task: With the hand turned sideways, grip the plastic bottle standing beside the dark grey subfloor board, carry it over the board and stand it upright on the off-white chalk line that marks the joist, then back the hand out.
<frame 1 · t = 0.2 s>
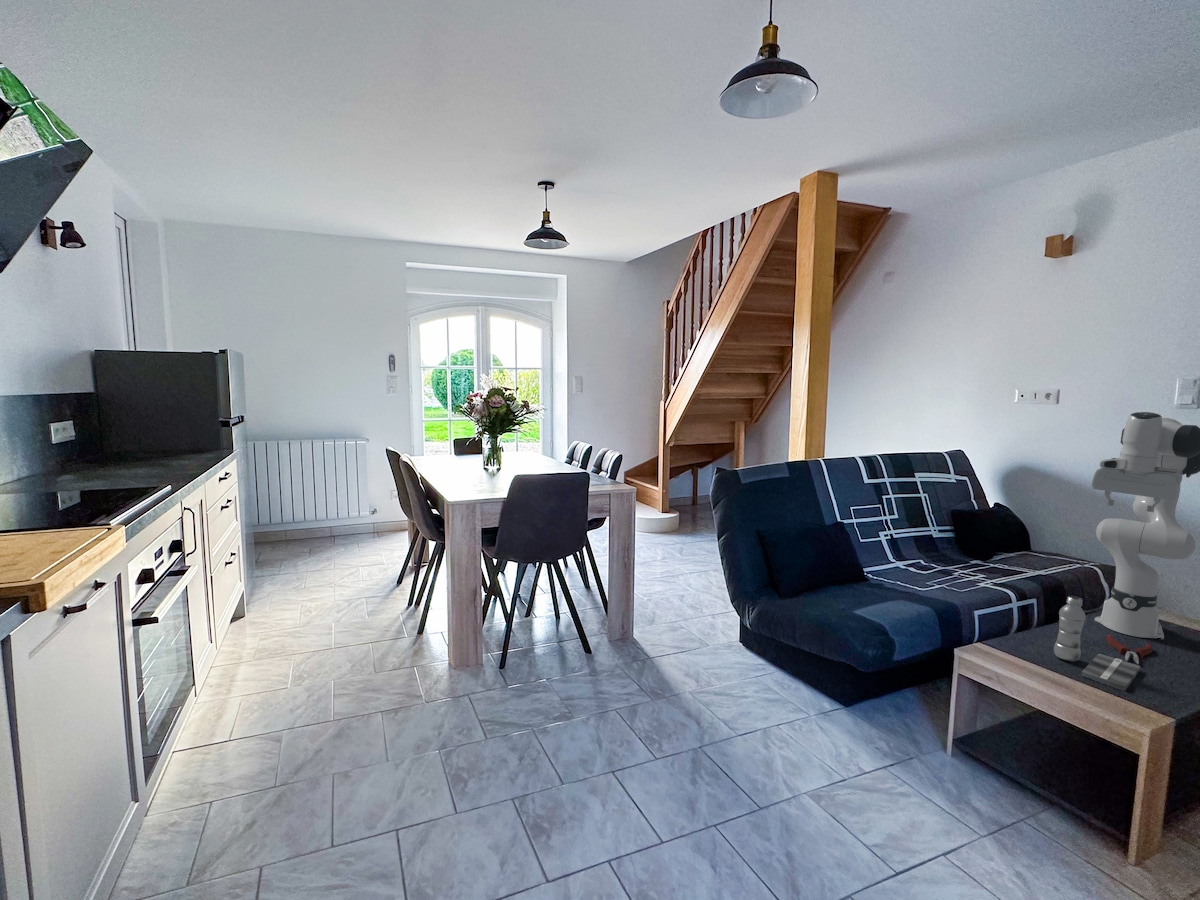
hand: (1130, 508, 188), 48 cm above the table, tool pointing down, fingers open, 8 cm apart
plastic bottle: (1065, 659, 188), on the table
subfloor board: (1110, 673, 180), on the table
pliers: (1123, 653, 196), on the table
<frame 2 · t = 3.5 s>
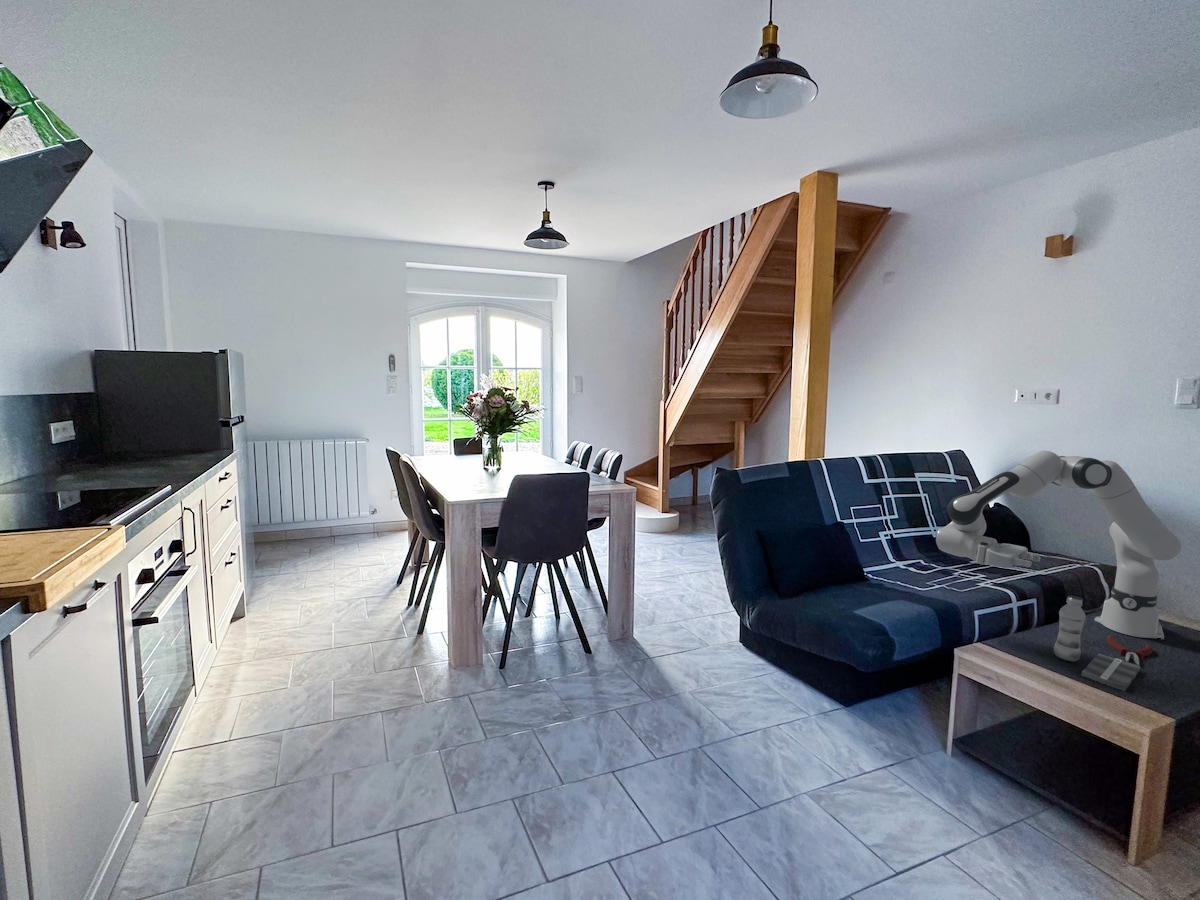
hand: (1035, 561, 194), 28 cm above the table, tool horizontal, fingers open, 8 cm apart
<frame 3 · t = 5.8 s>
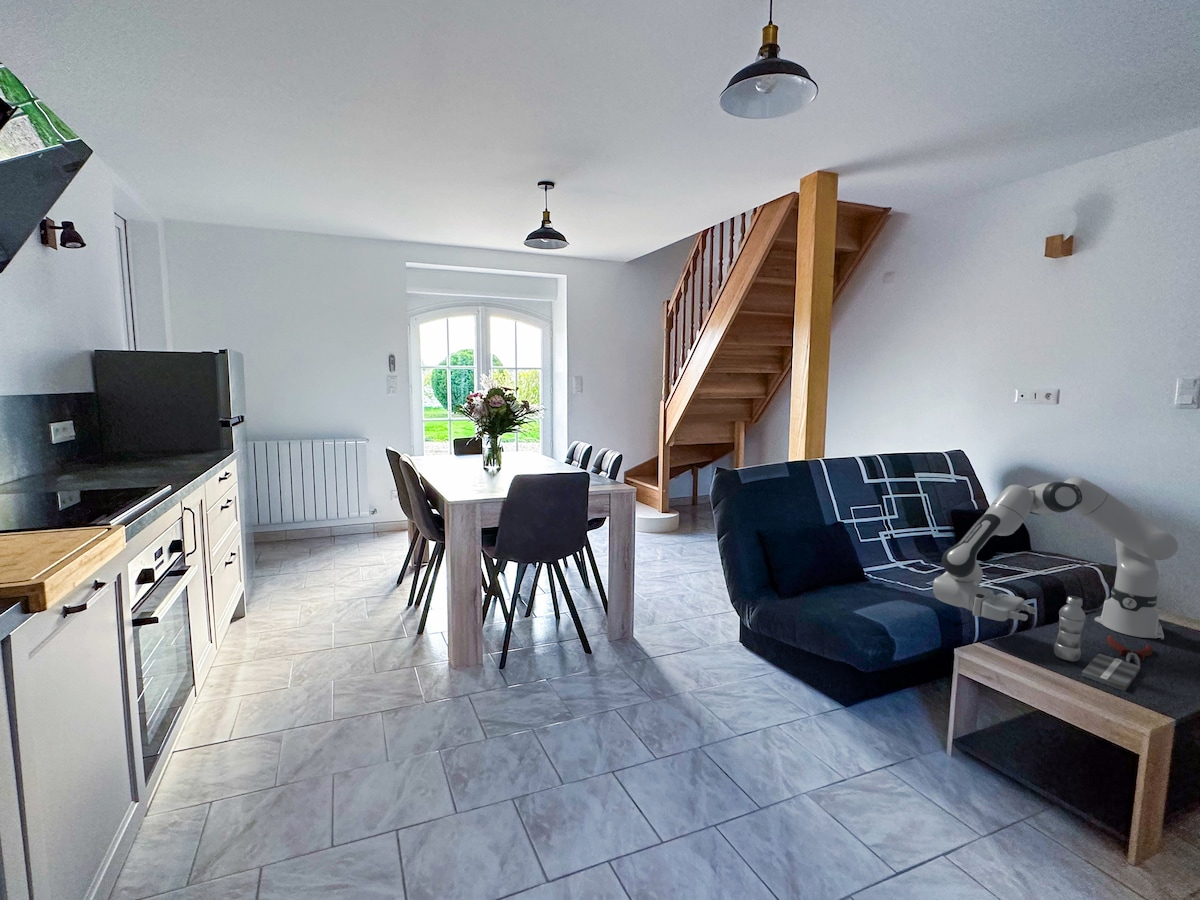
hand: (1031, 614, 195), 11 cm above the table, tool horizontal, fingers open, 8 cm apart
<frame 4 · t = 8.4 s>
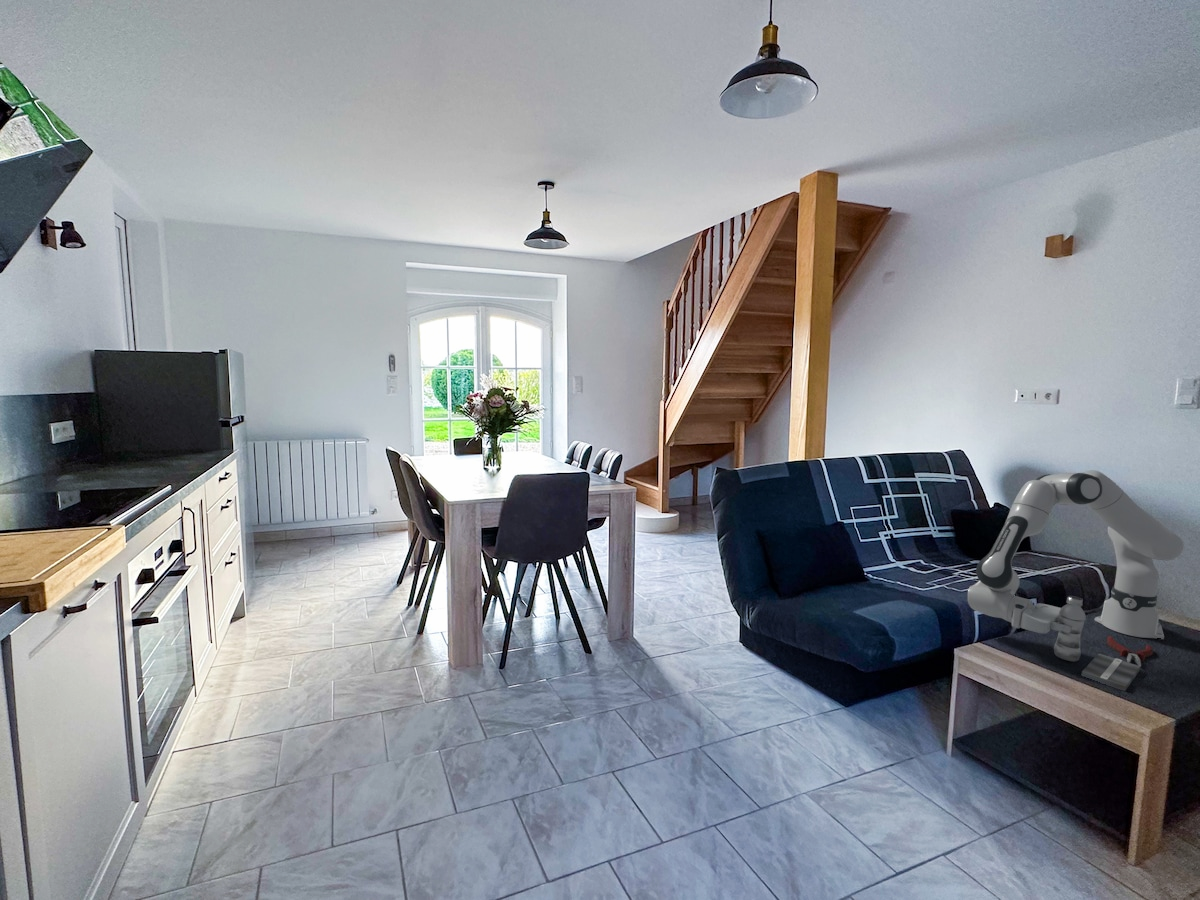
hand: (1074, 626, 186), 11 cm above the table, tool horizontal, fingers closed on plastic bottle, 6 cm apart
plastic bottle: (1065, 659, 188), on the table, touching gripper
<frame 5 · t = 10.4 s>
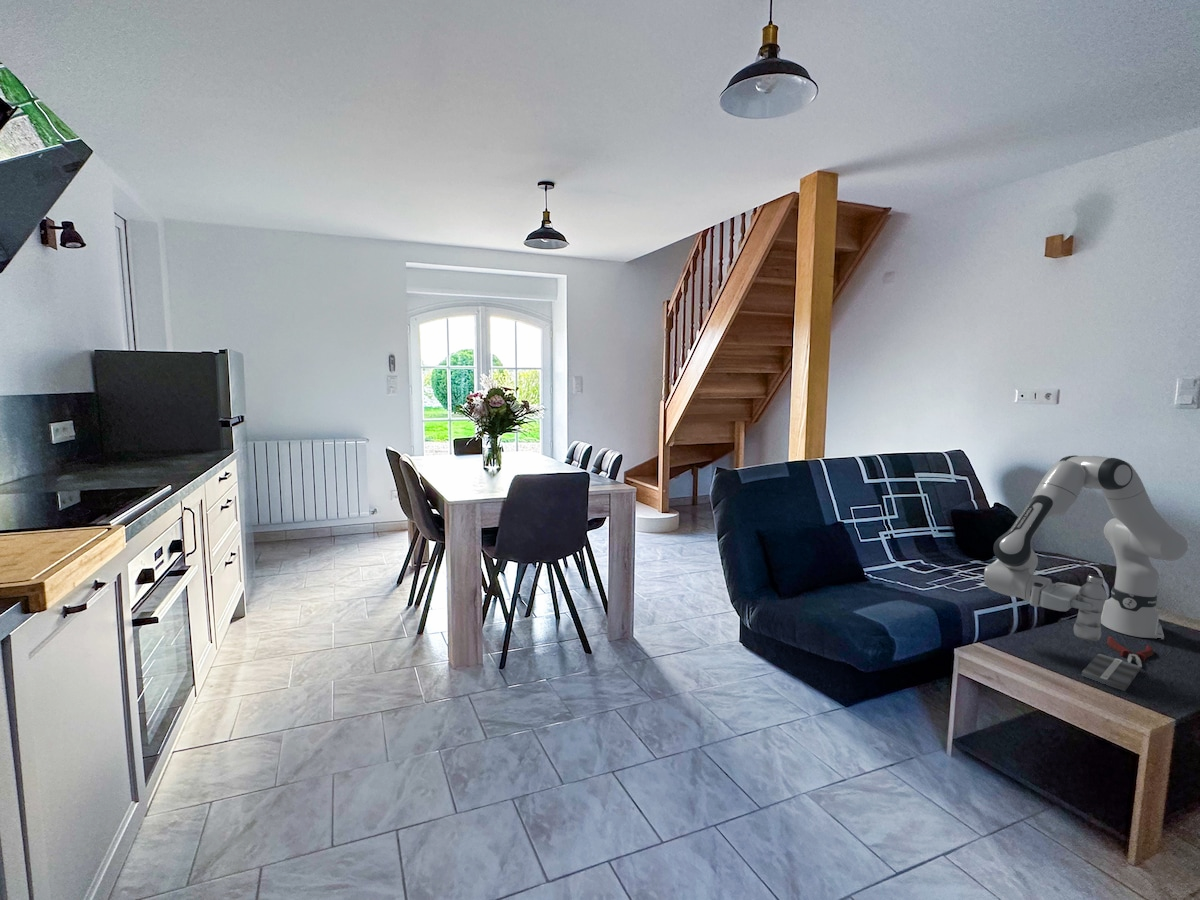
hand: (1095, 604, 182), 20 cm above the table, tool horizontal, fingers closed on plastic bottle, 6 cm apart
plastic bottle: (1085, 639, 184), point 8 cm above the table, touching gripper
when the fingers open (14 cm above the table, at t = 13.0 s): plastic bottle stays where it is, resting on subfloor board.
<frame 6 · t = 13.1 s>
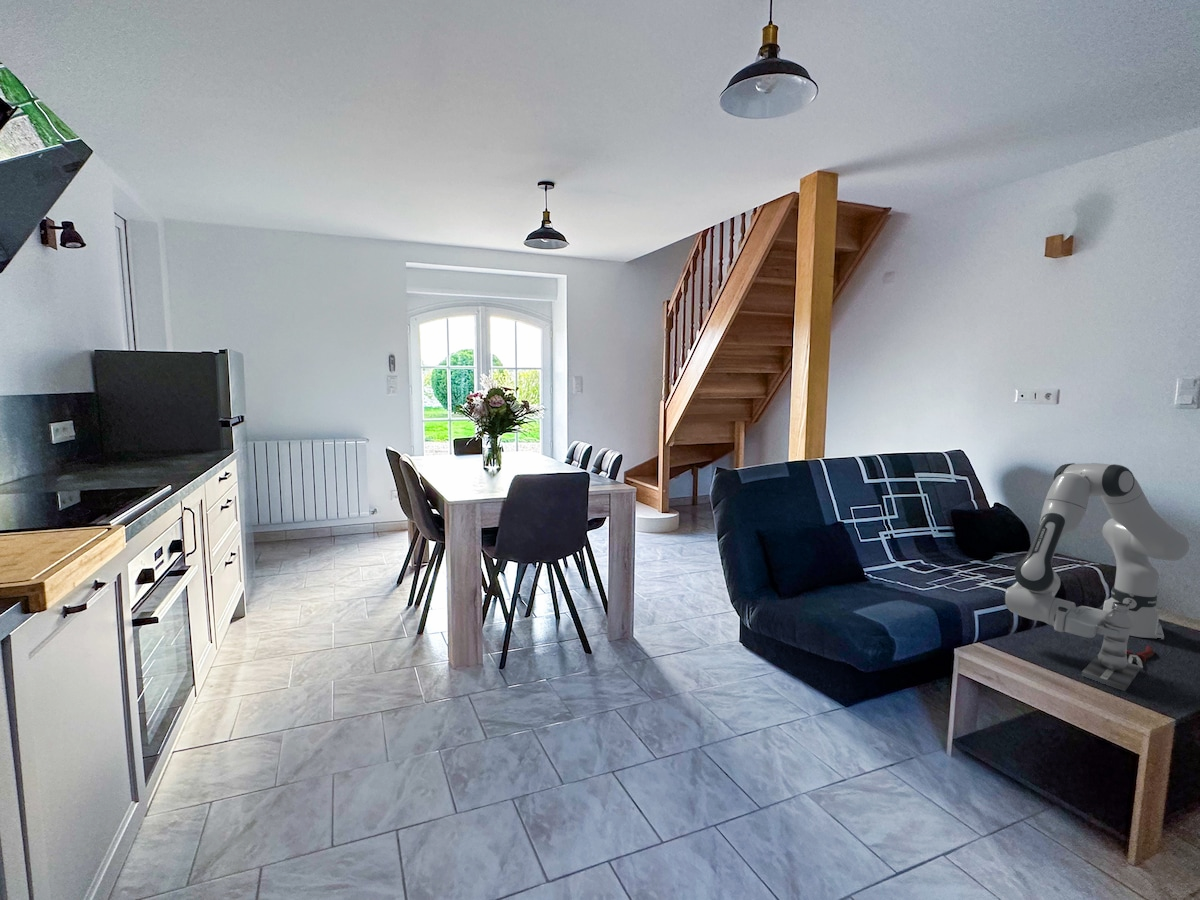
hand: (1122, 630, 177), 14 cm above the table, tool horizontal, fingers open, 7 cm apart
plastic bottle: (1111, 668, 180), point 1 cm above the table, touching subfloor board
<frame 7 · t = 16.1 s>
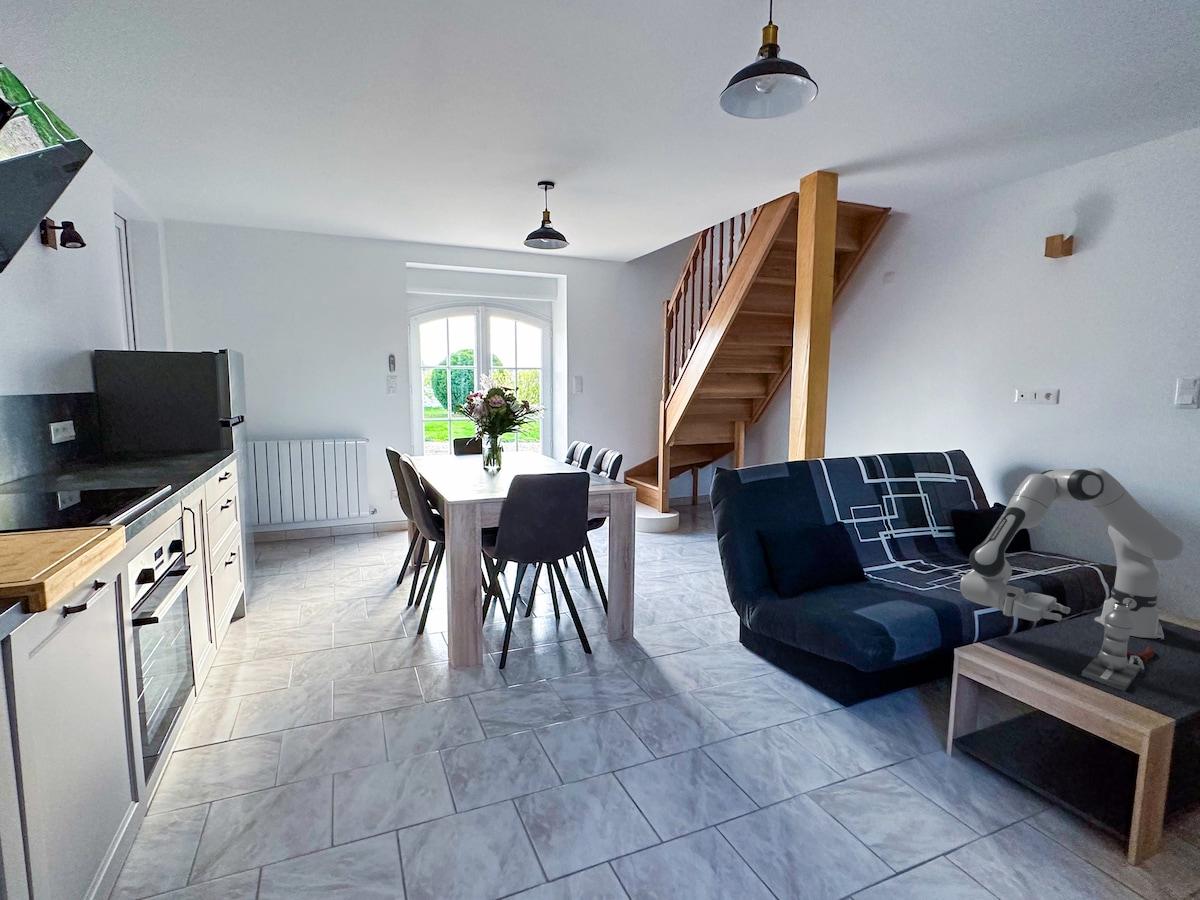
hand: (1065, 614, 188), 14 cm above the table, tool horizontal, fingers open, 8 cm apart
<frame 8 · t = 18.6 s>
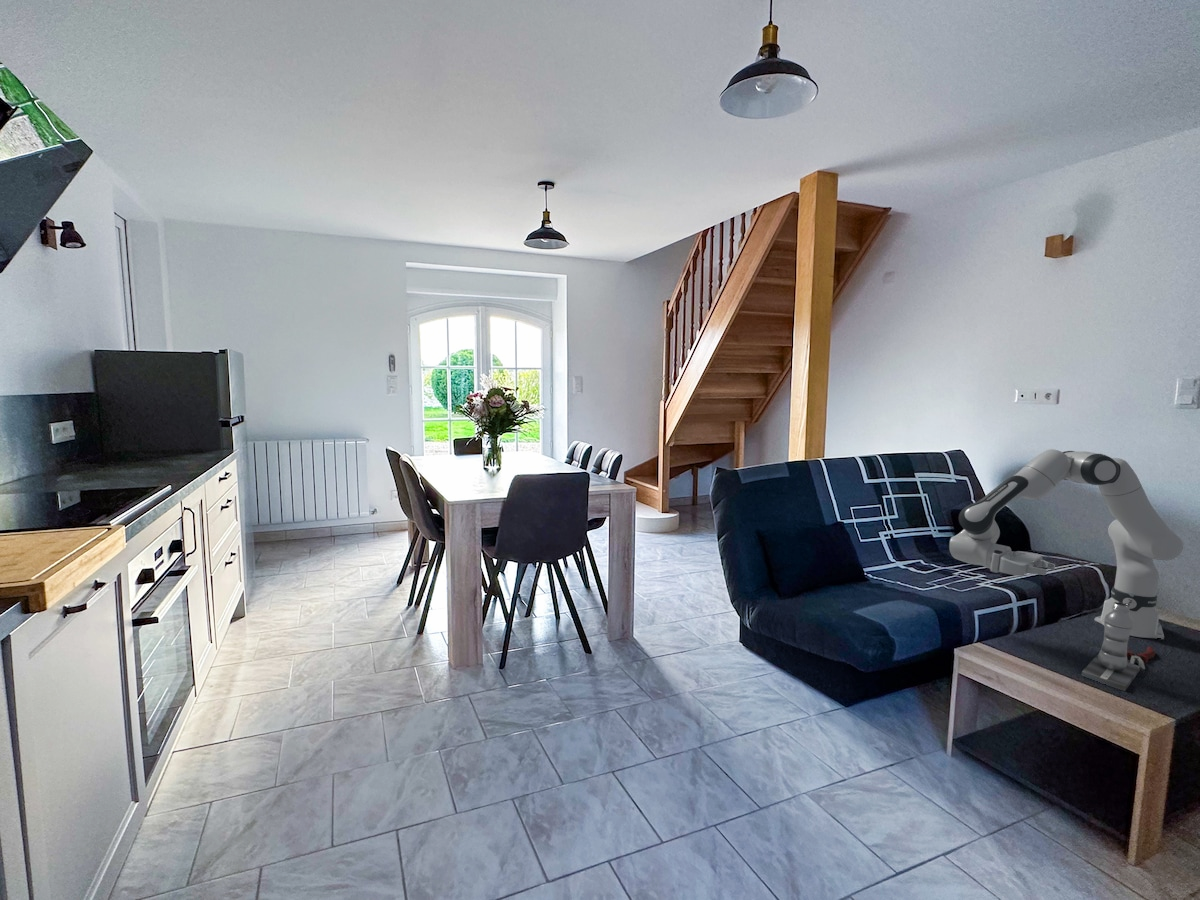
hand: (1050, 569, 194), 26 cm above the table, tool horizontal, fingers open, 8 cm apart
at the end: plastic bottle inside the target area (0.4 cm from its centre), point 1.5 cm above the table; plastic bottle tilted 0°; the gripper is holding nothing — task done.
